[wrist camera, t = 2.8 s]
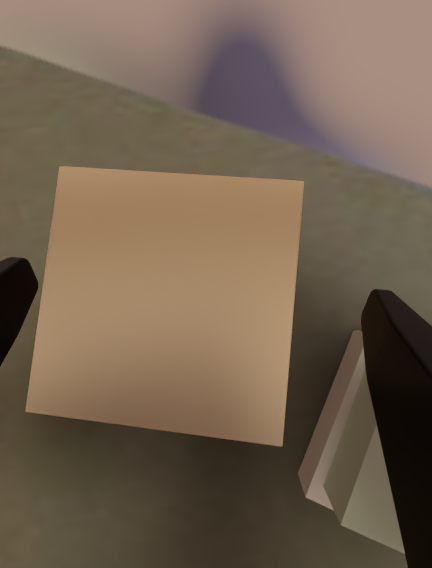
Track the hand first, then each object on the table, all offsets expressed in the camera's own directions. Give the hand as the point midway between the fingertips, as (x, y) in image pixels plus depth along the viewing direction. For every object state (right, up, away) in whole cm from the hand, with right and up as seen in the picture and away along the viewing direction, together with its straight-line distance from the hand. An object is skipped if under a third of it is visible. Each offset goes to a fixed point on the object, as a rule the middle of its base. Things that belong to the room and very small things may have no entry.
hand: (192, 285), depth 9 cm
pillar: (+1, -1, +7) cm, 8 cm away
